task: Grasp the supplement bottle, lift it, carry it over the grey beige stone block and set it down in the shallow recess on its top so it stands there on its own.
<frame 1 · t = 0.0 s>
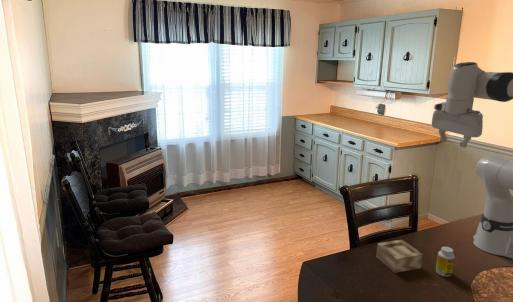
hand: (452, 144, 133), 48 cm above the table, fingers open, 8 cm apart
grey beige stone block: (397, 262, 141), on the table
supplement bottle: (443, 273, 134), on the table
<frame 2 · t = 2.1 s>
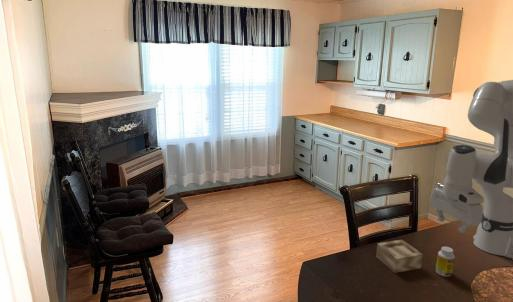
hand: (450, 226, 129), 20 cm above the table, fingers open, 8 cm apart
nothing on the table moved.
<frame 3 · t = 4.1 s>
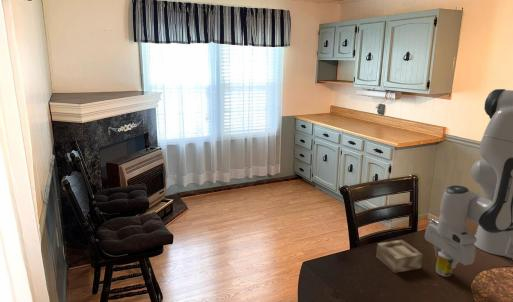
hand: (445, 262, 133), 5 cm above the table, fingers closed on supplement bottle, 6 cm apart
supplement bottle: (443, 273, 134), on the table, touching gripper
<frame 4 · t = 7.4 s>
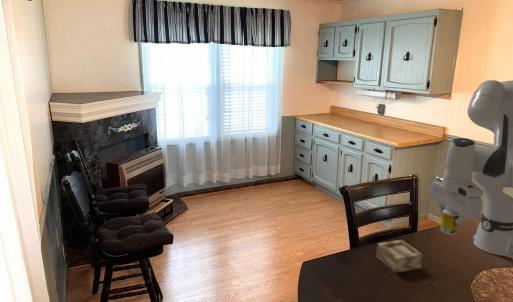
hand: (450, 219, 129), 22 cm above the table, fingers closed on supplement bottle, 6 cm apart
supplement bottle: (448, 232, 130), point 17 cm above the table, touching gripper
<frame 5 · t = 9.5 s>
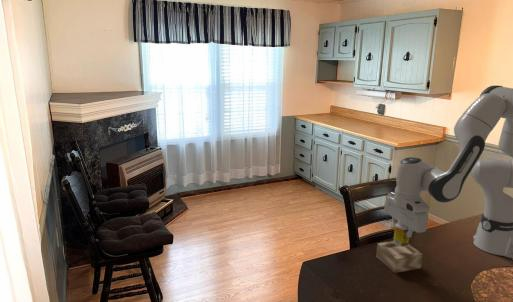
hand: (402, 232, 138), 13 cm above the table, fingers closed on supplement bottle, 6 cm apart
supplement bottle: (400, 244, 139), point 8 cm above the table, touching gripper
when the fingers open (10 cm above the table, at t = 10.9 s): supplement bottle stays where it is, resting on grey beige stone block.
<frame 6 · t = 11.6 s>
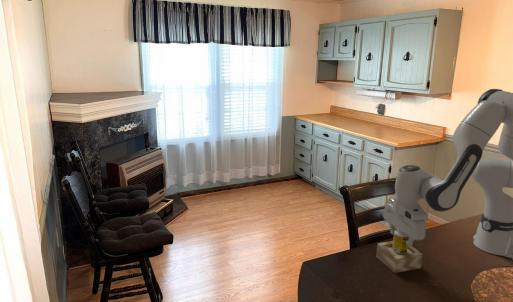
hand: (400, 239, 139), 10 cm above the table, fingers open, 8 cm apart
supplement bottle: (399, 251, 140), point 5 cm above the table, touching grey beige stone block
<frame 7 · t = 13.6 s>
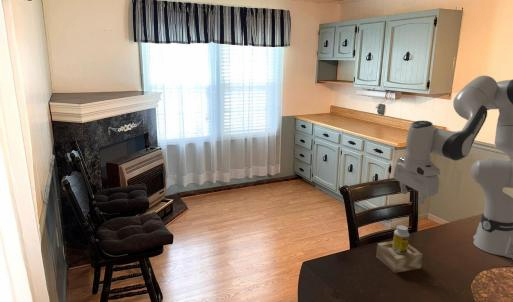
hand: (412, 198, 136), 27 cm above the table, fingers open, 8 cm apart
nothing on the table moved.
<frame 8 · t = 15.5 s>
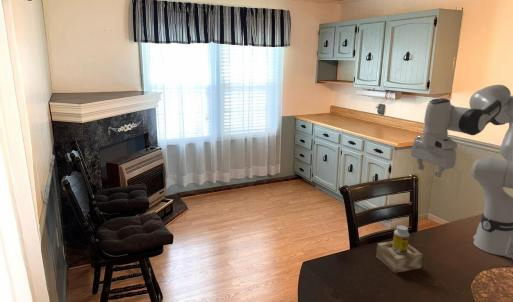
hand: (429, 172, 144), 34 cm above the table, fingers open, 8 cm apart
nothing on the table moved.
at the end: supplement bottle 0.1 cm off-centre on the grey beige stone block, point 4.8 cm above the grey beige stone block's base; supplement bottle tilted 0°; the gripper is holding nothing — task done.
